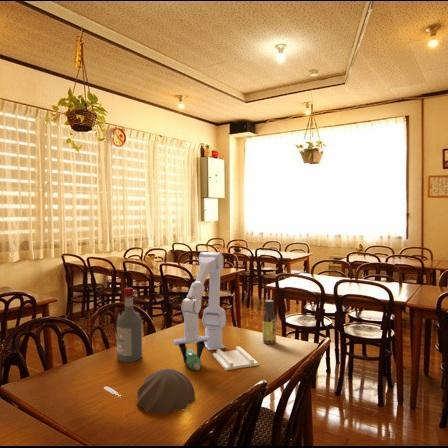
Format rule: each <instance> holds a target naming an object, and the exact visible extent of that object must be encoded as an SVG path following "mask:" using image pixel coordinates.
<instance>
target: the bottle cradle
mask: <svg viewBox="0 0 448 448" xmlns="http://www.w3.org/2000/svg"><path fill="white" fill-rule="evenodd" d="M212 357H214V359H215V360H216V361H217V362H218V363H219V365H220V366H221V367H222V368H223V369H224V370H225V371H229V370H236V369H242V368H247V367H248V368H250V367H254V366H259V362H258V361H257V360H256V359H254V357H252V356H251V355H250V354H249V353H248V352H247V351H246V350H244V348H242V347H241V346H236V347H235V349H233V350H228V351H227V350H226V351H223V350H222V349H216V352H213V353H212Z"/></svg>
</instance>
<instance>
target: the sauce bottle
mask: <svg viewBox="0 0 448 448" xmlns="http://www.w3.org/2000/svg"><path fill="white" fill-rule="evenodd" d="M264 304H265V308H264V312H263V313H262V342H263V344H265V345H273V344H275V343H276V341H277V317H276V314H275V311H274V310H275V309H274V300H272V299H266V300H265V301H264Z"/></svg>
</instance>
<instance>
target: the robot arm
mask: <svg viewBox="0 0 448 448" xmlns="http://www.w3.org/2000/svg"><path fill="white" fill-rule="evenodd" d="M224 259H225V258H224V254H222V252H221V251H220V252H217V251H216V252H215V251H214V252H213V251H211V252H209V251H201V252H200V253H199V255H198V266H199V267H198V271H197V274H196V275H197V276H196V278H195V281H193V282H192V283H191V285H190V288H189V290H188V293H187V295H186V298H184V299H183V300H182V302H181V306H180V309H181V312H182V317H183V321H184V322H183V327H184V329H183V332H184V334H183V335H184V336H183V337H180V338H176V339H173V345H174V347H177V346H178V347H179V350H180V351H181V352H180V353H181V354H182V359H183V363H186V360H187V359H186V350H187V349H188V348H187V345H188V344H196V355H197V356H198V357H199V359H200V360H201V356H202V353H203V350H204V349H205V348H206V349H207V350H208V351H213V350H217V349H221V350H222V349H226V346H225V345H224V344H223V328H224V327H225V326H226V324H227V317H226V310H225V309H224V308H222V306H220V303H221V302H220V301H221V299H220V295H221V291H220V290H221V271H223V270H224ZM208 275H209V282H208V283H209V284H208V306H207V307H206V308H204V310H203V315H202V319H201V321H202V324H203V326H204V328H205V329H204V335H199V313H200V311H201V308H202V297H203V294H204V291H205V285H204V284H205V283H206V279H207V277H208ZM186 364H187V363H186Z"/></svg>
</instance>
